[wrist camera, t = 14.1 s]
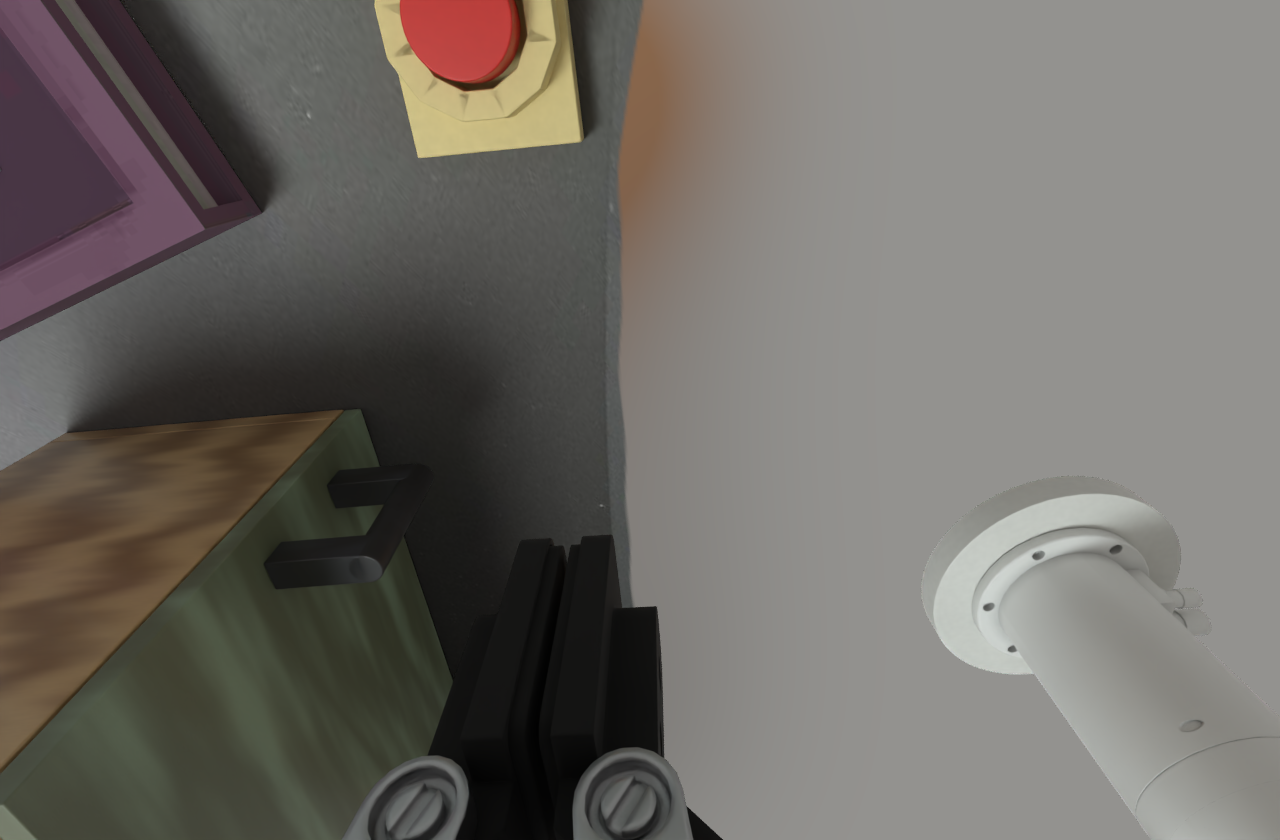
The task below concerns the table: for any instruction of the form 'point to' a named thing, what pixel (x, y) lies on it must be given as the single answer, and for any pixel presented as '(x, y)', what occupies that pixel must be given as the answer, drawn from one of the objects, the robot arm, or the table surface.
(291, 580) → the door
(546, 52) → the button block
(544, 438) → the table surface
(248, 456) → the cupboard
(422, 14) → the button
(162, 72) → the book
